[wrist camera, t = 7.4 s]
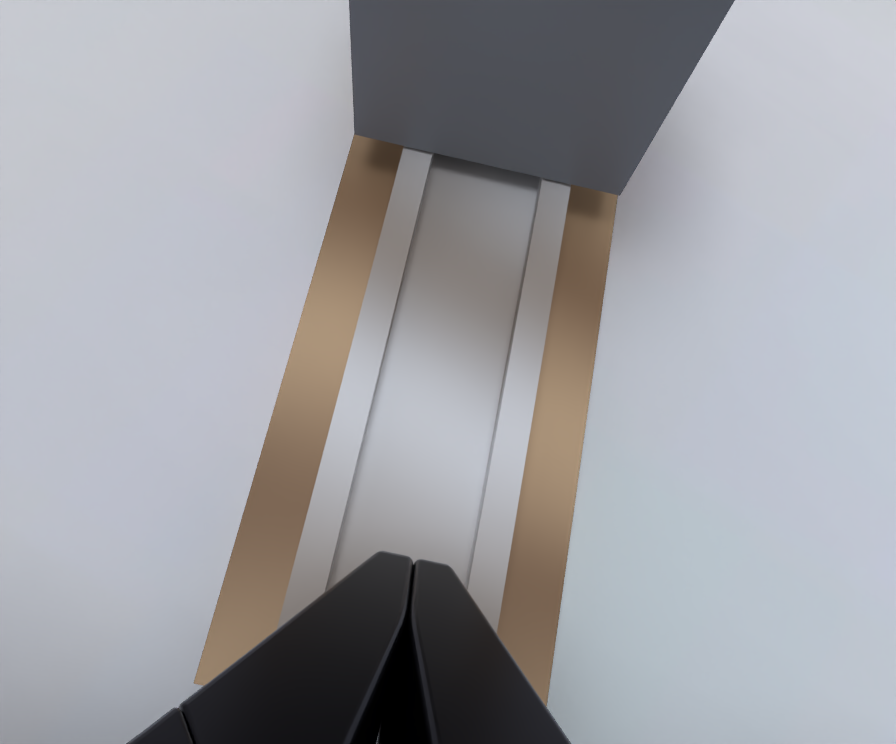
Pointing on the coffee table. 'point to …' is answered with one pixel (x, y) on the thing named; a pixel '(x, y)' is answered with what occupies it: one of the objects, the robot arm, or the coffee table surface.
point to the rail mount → (430, 399)
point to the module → (527, 79)
